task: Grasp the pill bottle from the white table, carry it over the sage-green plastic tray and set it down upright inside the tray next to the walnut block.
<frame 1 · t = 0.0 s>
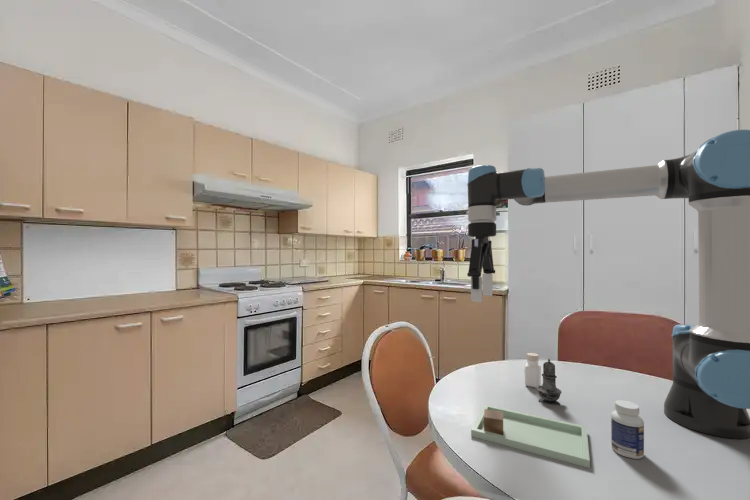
hand: (482, 298, 94), 28 cm above the table, fingers open, 13 cm apart
walnut block: (493, 432, 75), point 1 cm above the table, touching tray
pill bottle: (627, 452, 69), on the table
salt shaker: (549, 403, 91), on the table
salt shaker 2: (532, 385, 103), on the table
tray: (529, 437, 74), on the table
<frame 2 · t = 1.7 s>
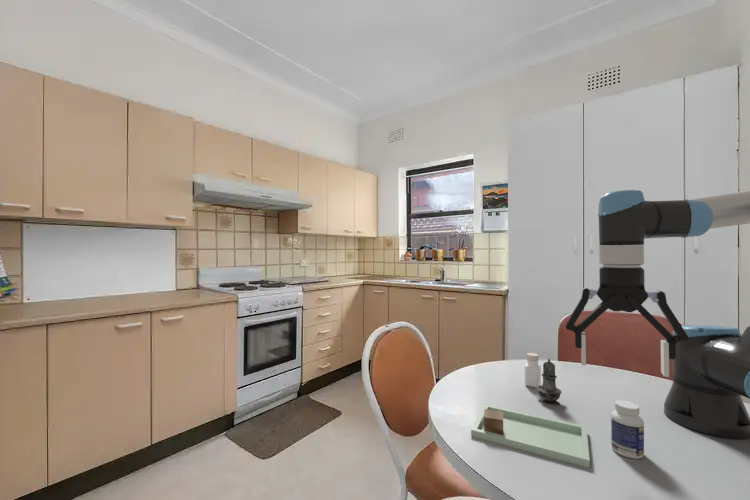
hand: (622, 368, 70), 17 cm above the table, fingers open, 13 cm apart
nothing on the table moved.
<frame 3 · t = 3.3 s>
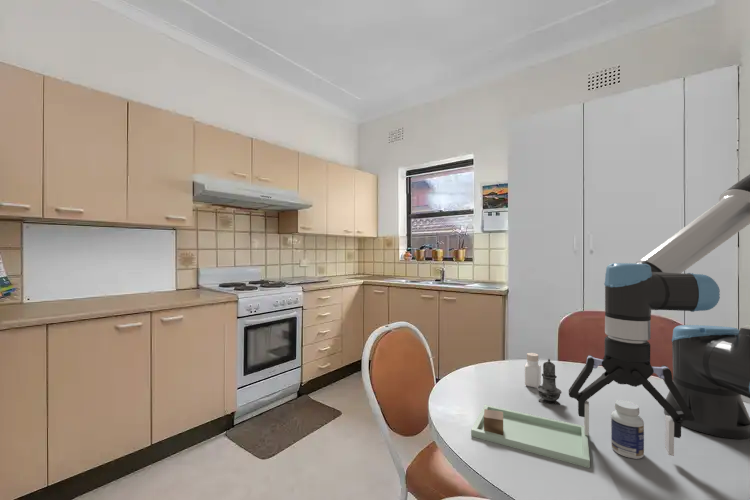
hand: (625, 442, 69), 2 cm above the table, fingers open, 13 cm apart
nothing on the table moved.
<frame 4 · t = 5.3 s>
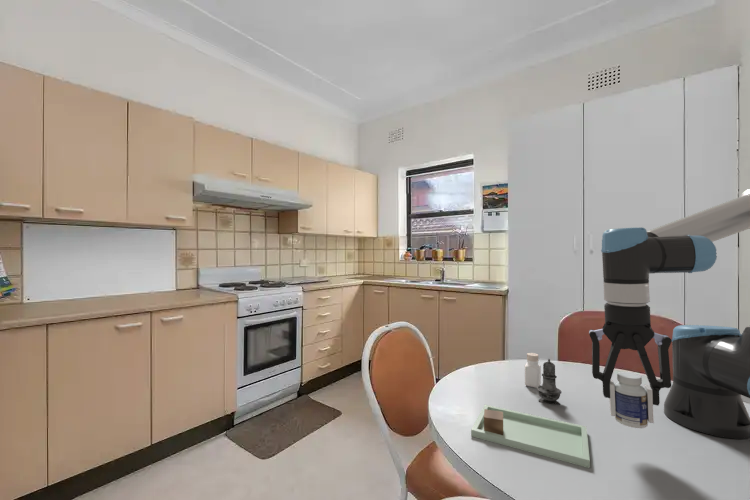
hand: (630, 416, 69), 7 cm above the table, fingers closed on pill bottle, 5 cm apart
pill bottle: (631, 423, 69), point 6 cm above the table, touching gripper
everything else where it was.
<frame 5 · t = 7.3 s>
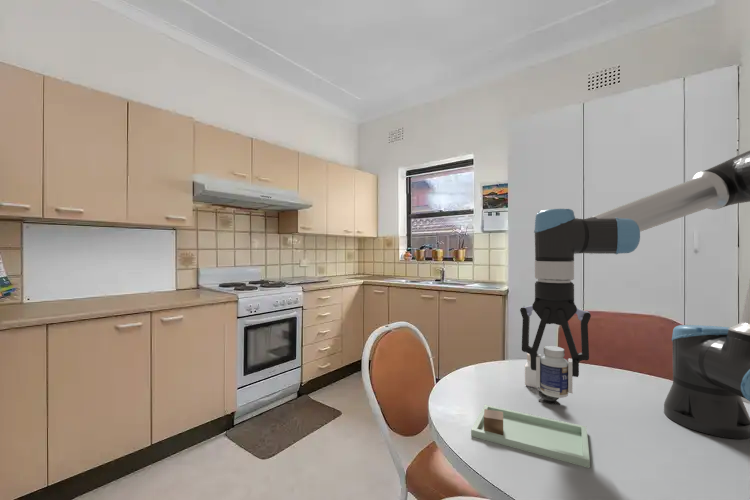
hand: (554, 387, 73), 12 cm above the table, fingers closed on pill bottle, 5 cm apart
pill bottle: (554, 394, 73), point 10 cm above the table, touching gripper
everything else where it was.
when the fingers open (2 cm above the table, at t = 9.6 s): pill bottle stays where it is, resting on tray.
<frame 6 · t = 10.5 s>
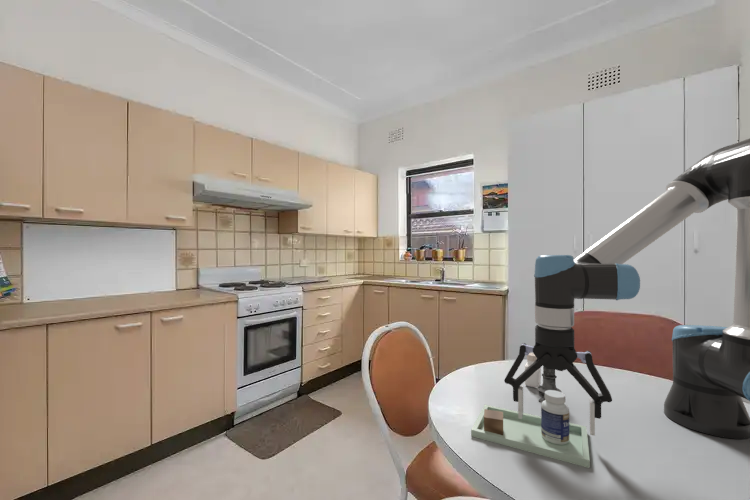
hand: (554, 424, 73), 4 cm above the table, fingers open, 13 cm apart
pill bottle: (555, 439, 73), resting on tray
everything else where it was.
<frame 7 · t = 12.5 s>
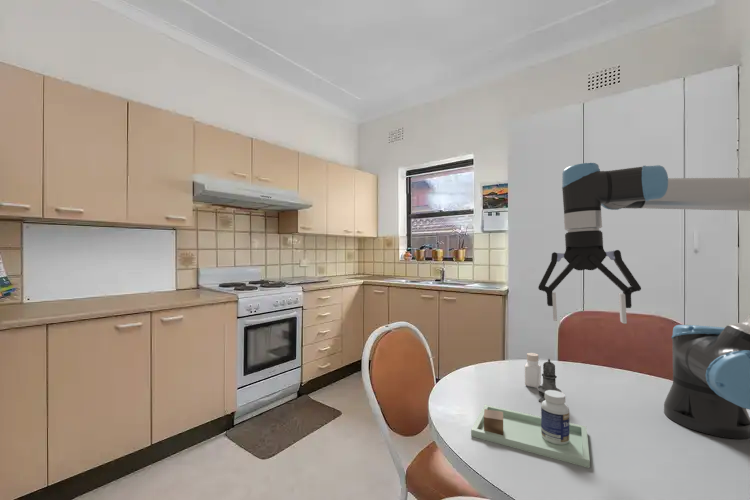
hand: (588, 321, 79), 25 cm above the table, fingers open, 13 cm apart
nothing on the table moved.
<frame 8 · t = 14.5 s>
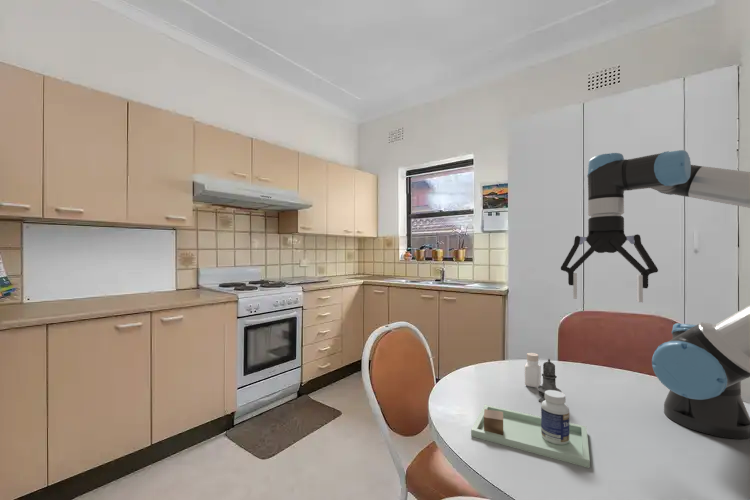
hand: (606, 299, 86), 29 cm above the table, fingers open, 13 cm apart
nothing on the table moved.
at the end: pill bottle inside the target area on the tray (5.2 cm from its centre), point 0.4 cm above the tray's base; pill bottle tilted 0°; the gripper is holding nothing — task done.
